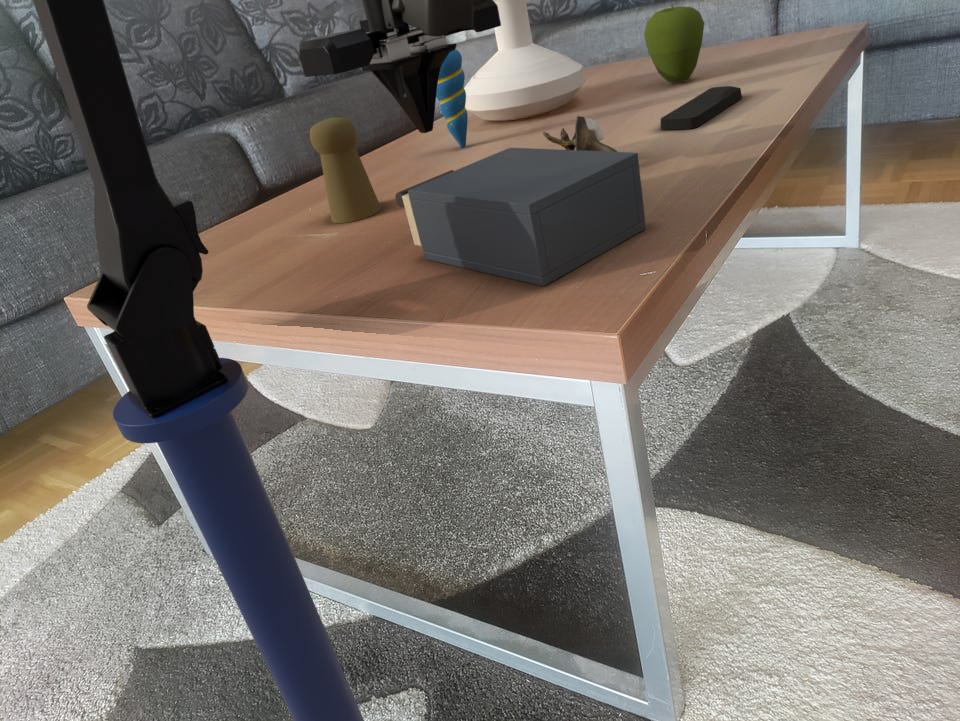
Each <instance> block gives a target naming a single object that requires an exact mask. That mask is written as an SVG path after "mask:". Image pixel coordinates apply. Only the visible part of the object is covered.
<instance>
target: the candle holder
mask: <svg viewBox="0 0 960 721" xmlns="http://www.w3.org/2000/svg"><path fill="white" fill-rule="evenodd" d="M493 1H494V2H495V3H496V4H497V6H498V10H499V16H500V22H501V26H499V27H495V28H493V30H494V34H495V41H496V46H497V51H496V52H495V53H494V54H493V55H492V56H491V57H490V58H489V59H488V60H486V62H485V63H484V64H483V65H482V66H481V67H480V68H479V69H477V71H476V73H475V74H473V75H472V77H471V78H470V79H469V81H468V82H467V83H466V84H465V86H464V89H465V92H466V104H465V108H466V110H467V112H469V113H471V114H473V115H474V116H476V117H478V118H480V119H481V120H484V121H498V122H499V121H500V122H508V121H518V120H523V119H528V118H529V119H530V118H533V117H537V116H541V115H544V114H547V113H549V112H552V111H554V110H556V109H558V108H560V107H562V106H564V105H566V104H568V103H570V102H571V101H572V100H573V98H574V97H575V96H576V94H578V92H579V91H580V90H581V88H582V87H583V86H584V84H585V82H586V76H585V71H584V70H585V69H584V65H583V64H581V63H580V62H577V61H576V60H574V59H572V58H570V57H568V56H567V55H565V54H561V53H560V52H557V51H554V50H552V49H549V48H546V47H544V46H541V45H539V44H536V43H533V35H532V31H531V24H530V17H529V12H528V5H527V0H493Z"/></svg>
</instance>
